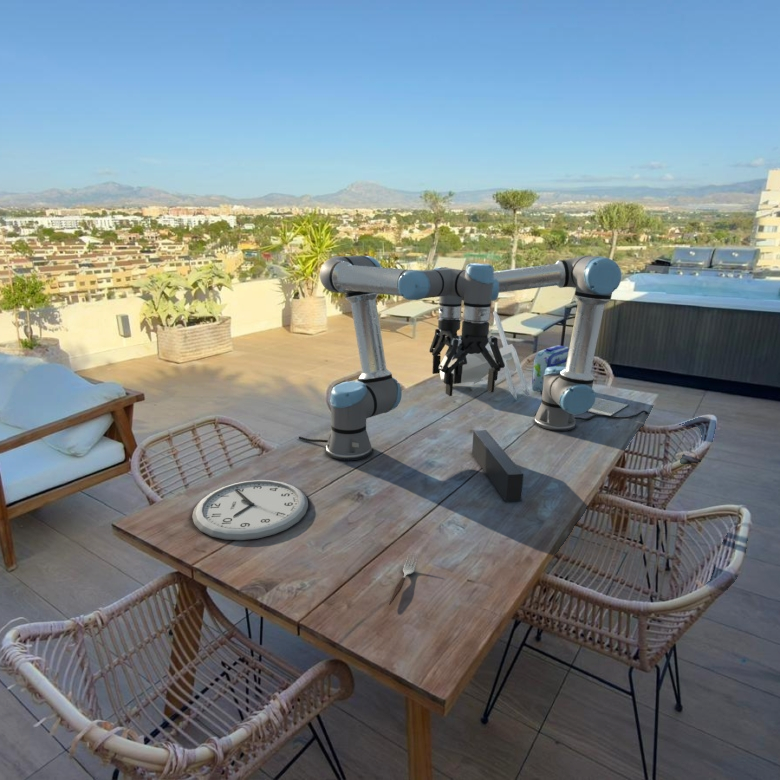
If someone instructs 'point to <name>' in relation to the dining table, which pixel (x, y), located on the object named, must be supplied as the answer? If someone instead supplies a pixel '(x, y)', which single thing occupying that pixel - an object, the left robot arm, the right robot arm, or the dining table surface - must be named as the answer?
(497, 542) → the dining table surface
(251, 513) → the wall clock
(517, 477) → the bar
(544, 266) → the right robot arm
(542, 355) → the lunch box
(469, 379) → the white plastic object
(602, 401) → the invitation card
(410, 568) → the fork
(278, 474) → the dining table surface
